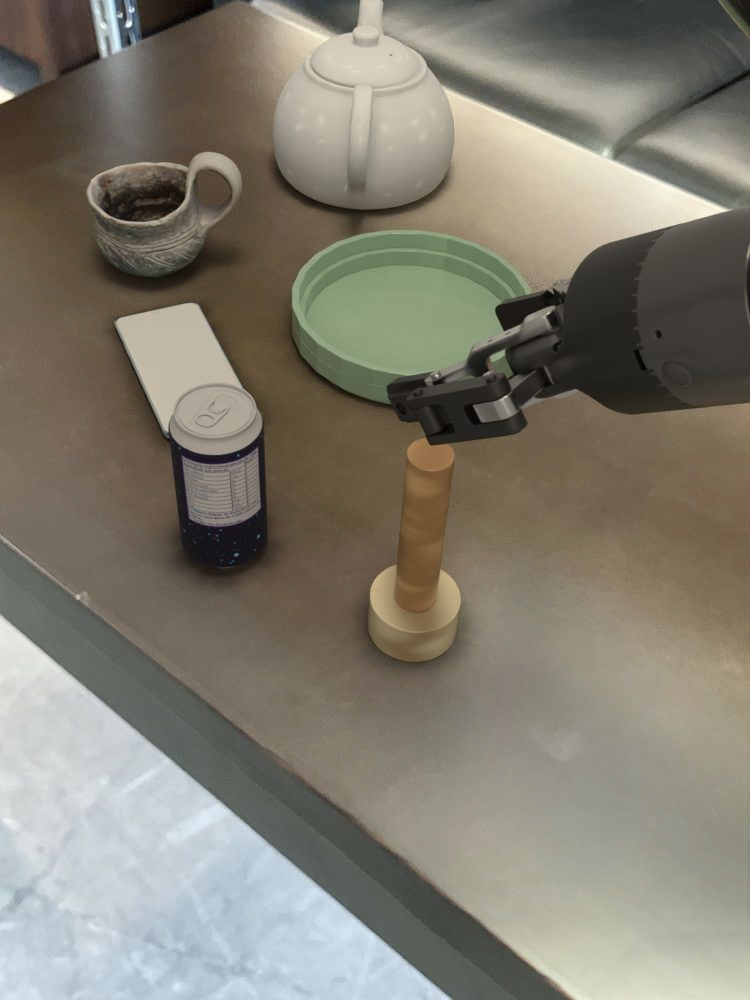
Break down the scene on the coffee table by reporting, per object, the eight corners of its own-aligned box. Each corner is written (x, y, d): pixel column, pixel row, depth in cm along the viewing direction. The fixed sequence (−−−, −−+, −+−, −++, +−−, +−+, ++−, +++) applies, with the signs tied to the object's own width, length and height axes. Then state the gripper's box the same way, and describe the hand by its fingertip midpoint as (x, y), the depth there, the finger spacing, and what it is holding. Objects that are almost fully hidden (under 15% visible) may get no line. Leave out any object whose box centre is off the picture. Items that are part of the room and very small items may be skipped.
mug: (94, 234, 101) (78, 128, 94) (236, 223, 103) (231, 119, 96) (100, 299, 94) (83, 191, 87) (251, 285, 97) (247, 179, 90)
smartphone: (166, 437, 82) (112, 318, 92) (166, 442, 83) (113, 323, 92) (258, 414, 84) (196, 299, 94) (258, 419, 85) (196, 305, 94)
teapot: (225, 162, 110) (217, 21, 101) (367, 106, 119) (373, -28, 110) (354, 248, 101) (359, 102, 91) (497, 180, 110) (516, 41, 100)
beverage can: (284, 535, 77) (281, 399, 69) (235, 590, 74) (226, 454, 65) (215, 502, 79) (204, 366, 70) (164, 554, 76) (146, 418, 67)
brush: (369, 663, 70) (381, 491, 59) (365, 592, 74) (376, 418, 63) (460, 661, 70) (488, 490, 60) (452, 591, 74) (476, 418, 64)
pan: (291, 410, 86) (291, 374, 83) (292, 263, 99) (292, 228, 97) (545, 411, 87) (552, 375, 85) (512, 265, 100) (517, 230, 98)
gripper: (764, 158, 49) (508, 236, 62) (563, 312, 42) (322, 363, 55) (823, 315, 51) (563, 358, 64) (641, 486, 44) (392, 495, 57)
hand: (452, 360), depth 60 cm, fingers open, 8 cm apart
